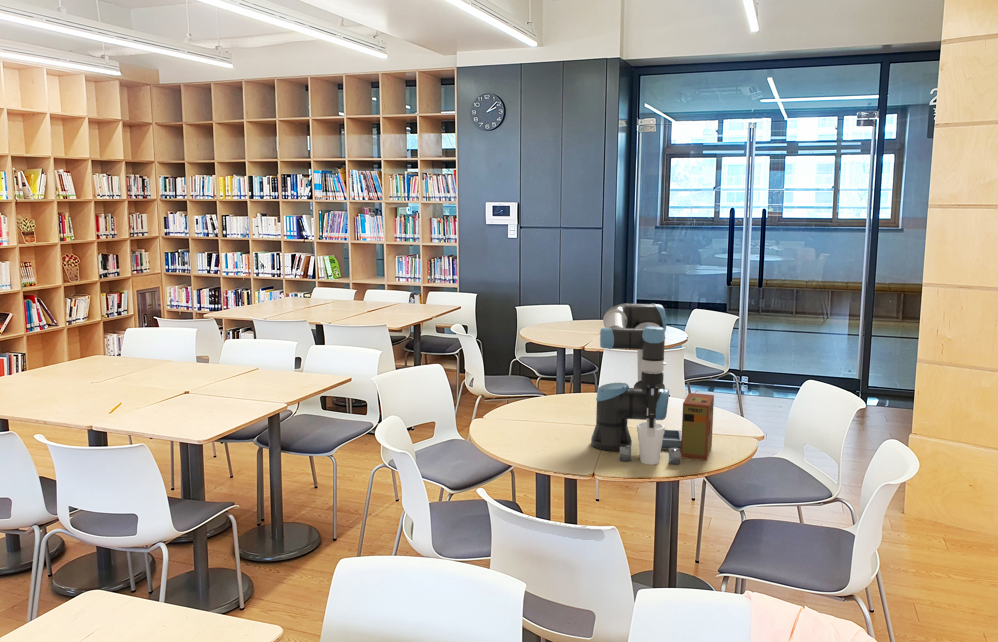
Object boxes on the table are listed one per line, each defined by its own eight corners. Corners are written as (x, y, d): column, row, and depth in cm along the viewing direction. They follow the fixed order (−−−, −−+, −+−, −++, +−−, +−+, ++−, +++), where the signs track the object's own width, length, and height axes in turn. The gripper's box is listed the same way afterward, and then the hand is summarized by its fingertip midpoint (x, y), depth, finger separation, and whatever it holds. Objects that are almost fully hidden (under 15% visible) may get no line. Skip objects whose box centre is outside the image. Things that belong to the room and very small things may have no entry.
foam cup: (665, 466, 260) (666, 429, 258) (638, 465, 260) (639, 429, 258) (660, 457, 269) (661, 422, 267) (634, 457, 269) (635, 422, 267)
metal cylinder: (619, 461, 264) (619, 447, 264) (619, 458, 268) (619, 444, 267) (630, 462, 264) (631, 448, 263) (630, 458, 267) (631, 445, 267)
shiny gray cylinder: (668, 464, 261) (669, 450, 261) (668, 461, 265) (668, 447, 264) (680, 465, 261) (681, 451, 260) (679, 461, 264) (680, 448, 264)
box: (687, 444, 284) (689, 392, 282) (711, 447, 281) (714, 395, 278) (680, 457, 269) (683, 403, 266) (706, 460, 266) (709, 405, 263)
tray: (644, 447, 280) (644, 438, 279) (644, 437, 293) (644, 428, 293) (682, 449, 277) (682, 440, 277) (680, 439, 291) (680, 430, 290)
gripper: (664, 379, 247) (662, 441, 250) (662, 365, 271) (660, 422, 274) (641, 378, 248) (639, 440, 251) (641, 364, 272) (639, 421, 275)
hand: (650, 431), depth 262 cm, fingers open, 13 cm apart
